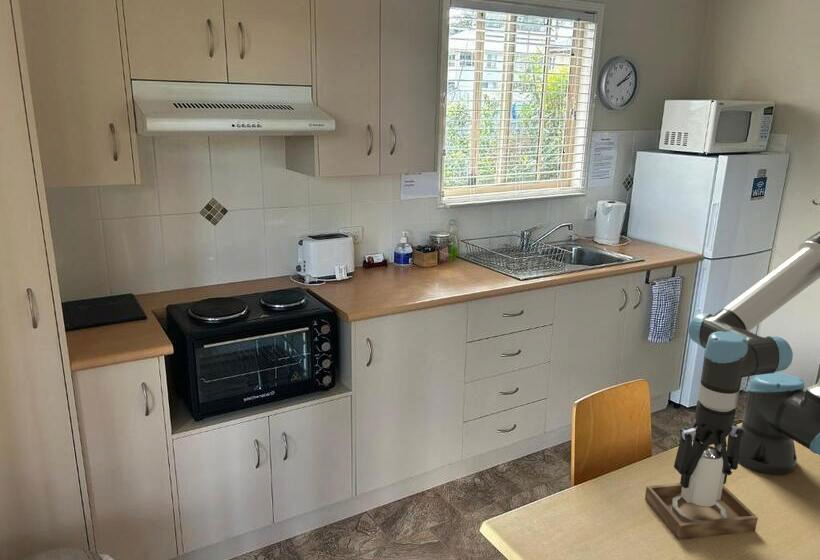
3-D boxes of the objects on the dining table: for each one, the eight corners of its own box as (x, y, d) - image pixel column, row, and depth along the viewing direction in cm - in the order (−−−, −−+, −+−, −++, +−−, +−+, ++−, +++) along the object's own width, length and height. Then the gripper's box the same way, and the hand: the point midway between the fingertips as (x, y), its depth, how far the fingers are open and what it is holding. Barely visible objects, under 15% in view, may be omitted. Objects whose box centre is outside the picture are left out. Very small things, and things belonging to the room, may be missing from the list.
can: (687, 506, 139) (695, 457, 136) (681, 488, 145) (689, 442, 142) (719, 510, 138) (728, 461, 134) (712, 492, 144) (720, 445, 141)
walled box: (715, 492, 151) (717, 479, 150) (755, 531, 138) (757, 517, 137) (644, 499, 148) (646, 486, 147) (678, 539, 135) (680, 525, 134)
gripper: (746, 393, 140) (729, 483, 147) (664, 398, 137) (651, 491, 143) (769, 409, 133) (751, 504, 139) (684, 415, 130) (669, 512, 136)
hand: (700, 497), depth 141 cm, fingers closed on can, 6 cm apart
